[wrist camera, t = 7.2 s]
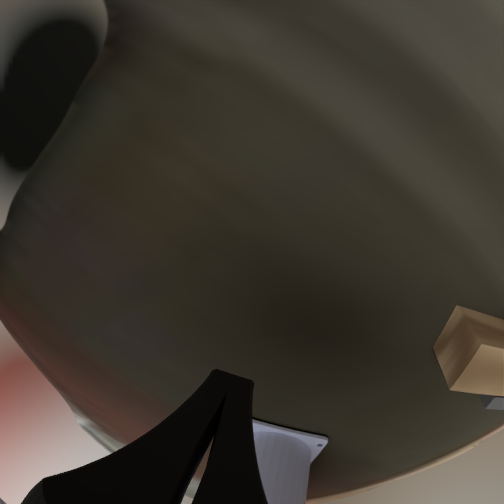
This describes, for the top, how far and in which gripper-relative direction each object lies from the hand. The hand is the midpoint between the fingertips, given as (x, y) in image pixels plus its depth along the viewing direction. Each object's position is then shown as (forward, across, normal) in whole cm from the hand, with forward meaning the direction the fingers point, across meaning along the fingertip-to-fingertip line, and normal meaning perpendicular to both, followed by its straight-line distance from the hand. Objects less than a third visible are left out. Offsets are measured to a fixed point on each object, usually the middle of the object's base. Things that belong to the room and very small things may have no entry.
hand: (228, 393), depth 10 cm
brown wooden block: (+10, -17, 0) cm, 20 cm away
